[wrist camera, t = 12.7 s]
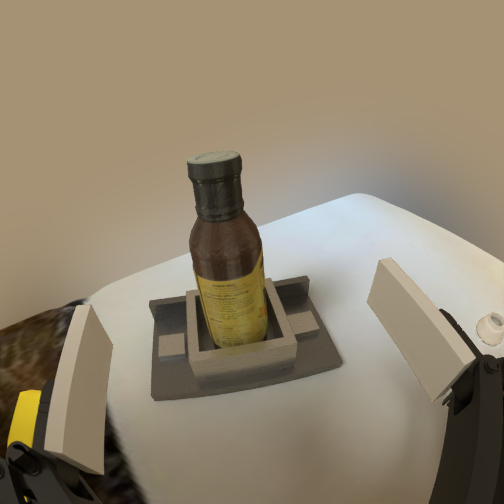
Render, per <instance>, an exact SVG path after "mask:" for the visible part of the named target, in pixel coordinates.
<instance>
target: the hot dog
mask: <svg viewBox="0 0 504 504" xmlns="http://www.w3.org/2000/svg"><path fill="white" fill-rule="evenodd" d="M40 396H41V391H39V390H28V391H23V392H20V395H19V398H18V402H17V405H16V409H15V412H14V416H13V420H12V424H11V428H10V433H9V437H8V446H9V445H10V444H11V443H12V442H14V441H21V442H22V443H24V444H26V445H27V446H29V447H30V448H32V444H33V436H34V429H35V422H36V416H37V413H38V405H39V404H40V402H39V400H40ZM8 446H7V448H8ZM24 497H25V496H24ZM25 500H26V502H27V499H26V497H25Z"/></svg>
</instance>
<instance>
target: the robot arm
mask: <svg viewBox="0 0 504 504" xmlns="http://www.w3.org/2000/svg"><path fill="white" fill-rule="evenodd" d="M367 303H368V305H369V306H370V307H371V309H372V310H373V312H374V313H375V315H376V316H377V317H378V319H379V320H380V322H381V323H382V325H383V326H384V328H385V329H386V331H387V332H388V333H389V335H390V336H391V338H392V339H393V341H394V342H395V344H396V345H397V347H398V348H399V350H400V352H401V353H402V355H403V356H404V358H405V359H406V361H407V362H408V364H409V365H410V367H411V369H412V370H413V372H414V373H415V375H416V377H417V378H418V380H419V381H420V383H421V385H422V386H423V388H424V390H425V391H426V393H427V395H428V396H429V398H430V400H431V401H432V402H433V401H435V400H436V399H438V398H440V397H441V396H443V395H444V394H445V393H446V392H447V391H448V390H449V389H450V388H451V389H452V392H451V393H450V394H449V395H448V396H447V397H446V398H445V399H444V400H443V403H442V405H445V404H446V403H447V402H448V401H449V400H450V401H449V402H448V404H447V405H446V406H449V411H448V419H447V427H446V433H445V440H444V445H443V450H442V455H441V460H440V465H439V469H438V473H437V477H436V481H435V484H434V488H433V491H432V495H431V498H430V501H429V504H504V357H502V358H497V359H496V358H495V357H494V356H492V355H482V354H481V352H480V351H479V350H478V349H477V347H476V346H475V345H474V343H473V342H472V341H471V339H470V338H469V337H468V336H467V334H466V333H465V332H464V331H462V328H461V327H460V326H459V324H457V322H456V321H455V320H454V318H453V317H452V316H451V315H450V314H449V313H447V312H446V311H444V310H443V309H439V310H438V309H437V307H436V306H435V305H434V304H433V303H432V302H431V300H430V299H429V298H428V297H427V296H426V295H425V294H424V292H423V291H422V290H421V289H420V288H419V287H418V286H417V285H416V284H415V282H414V281H413V280H412V279H411V278H410V277H409V276H408V275H407V274H406V273H405V272H404V271H403V270H402V268H401V267H400V266H399V265H398V264H397V263H396V262H395V261H394V260H393V259H392V258H387V259H382V260H379V262H378V266H377V270H376V273H375V277H374V280H373V284H372V287H371V290H370V294H369V297H368V300H367ZM112 349H113V344H112V342H111V340H110V339H109V337H108V335H107V333H106V332H105V330H104V328H103V326H102V324H101V322H100V321H99V319H98V317H97V315H96V313H95V311H94V309H93V307H92V305H91V304H88V305H78V306H76V309H75V312H74V315H73V318H72V321H71V324H70V327H69V330H68V333H67V337H66V340H65V344H64V347H63V351H62V354H61V358H60V362H59V366H58V370H57V374H56V379H55V380H47V382H46V384H45V385H44V387H43V389H42V391H41V396H40V400H39V402H40V404H39V405H38V413H37V416H36V422H35V429H34V436H33V444H32V448H30V447H29V446H27V445H26V444H24V443H22V442H21V441H14V442H12V443H11V444H10V445H9V446H8V448H7V451H6V460H5V459H4V458H2V457H0V504H103V503H102V502H101V501H100V499H99V498H98V497H97V496H96V494H95V493H94V492H93V491H92V489H91V488H90V487H89V485H88V484H87V483H86V481H85V480H84V478H83V477H82V476H81V475H80V474H79V469H80V470H83V471H85V472H87V473H93V474H100V475H104V428H105V411H106V399H107V388H108V379H109V371H110V363H111V356H112ZM24 496H25V497H26V499H27V502H26V500H25V497H24Z"/></svg>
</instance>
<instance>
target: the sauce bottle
mask: <svg viewBox="0 0 504 504" xmlns="http://www.w3.org/2000/svg"><path fill="white" fill-rule="evenodd" d="M187 165H188V177H189V178H190V180H191V181H192V183H193V188H194V195H195V201H196V206H195V208H196V211H197V215H198V217H197V220H196V222H195V224H194V226H193V229H192V230H191V234H190V239H189V247H190V252H191V256H192V260H193V270H194V274H195V279H196V283H197V287H198V291H199V295H200V299H201V303H202V307H203V311H204V315H205V318H206V322H207V326H208V330H209V333H210V336H211V338H212V339H213V343H214V346H215V347H216V349H222V348H229V347H235V346H240V345H246V344H252V343H257V342H262V341H266V340H267V329H268V319H267V307H266V293H265V276H264V265H263V250H262V241H261V238H260V235H259V232H258V229H257V227H256V225H255V224H254V222H253V221H252V220H251V218H250V217H249V216H248V215H247V214H246V212H245V211H244V210H243V207H244V201H243V198H242V188H241V179H240V178H241V177H240V174H241V171H242V159H241V157H240V155H239V153H237V152H233V151H222V152H210V153H205V154H200V155H196V156H193V157H191V158H189V160H188V161H187Z"/></svg>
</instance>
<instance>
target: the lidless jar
mask: <svg viewBox="0 0 504 504" xmlns="http://www.w3.org/2000/svg"><path fill="white" fill-rule="evenodd" d="M477 332H478V335H479V336H480V337H481V339H482V340H483V341H484V342H486V343H487V344H490V345H497V344H499V343H500V342H501V340H502V337H503V332H504V319H503V317H502V316H501V315H500V314H499V313H497V312H492V313H490V314H489V315H487V316H485V317H484V318H482V319H480V320H479V322H478V324H477Z"/></svg>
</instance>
